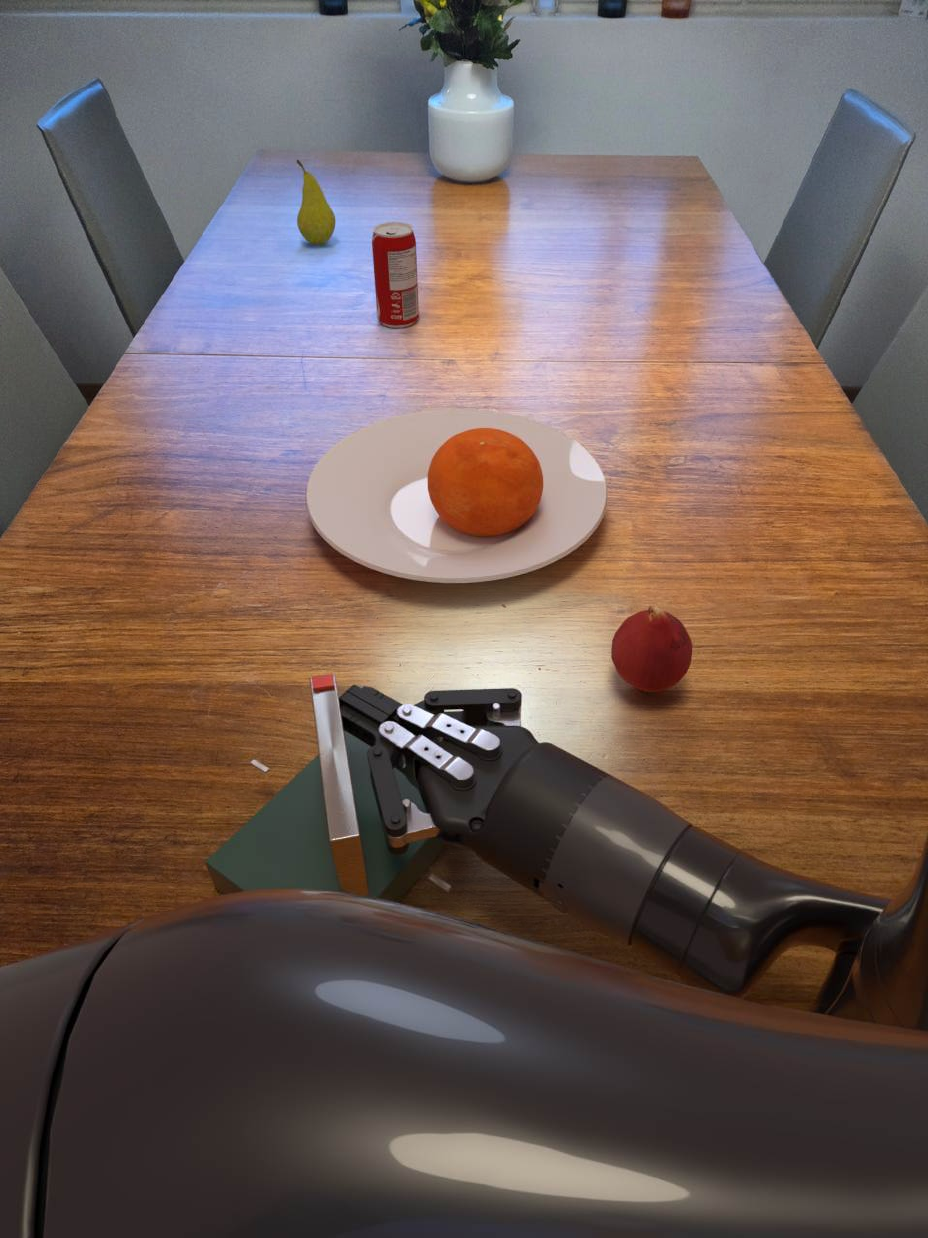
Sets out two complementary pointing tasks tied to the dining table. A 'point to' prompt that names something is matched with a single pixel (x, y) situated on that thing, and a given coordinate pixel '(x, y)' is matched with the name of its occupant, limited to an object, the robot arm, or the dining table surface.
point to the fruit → (314, 212)
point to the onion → (652, 650)
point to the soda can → (395, 274)
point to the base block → (320, 838)
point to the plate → (456, 495)
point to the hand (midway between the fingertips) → (345, 701)
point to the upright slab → (338, 787)
